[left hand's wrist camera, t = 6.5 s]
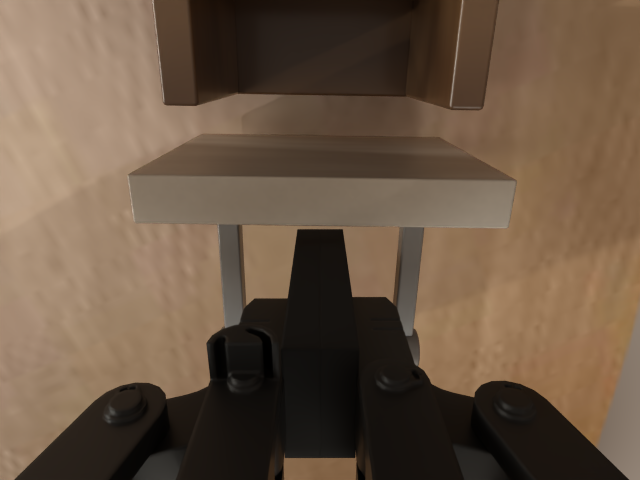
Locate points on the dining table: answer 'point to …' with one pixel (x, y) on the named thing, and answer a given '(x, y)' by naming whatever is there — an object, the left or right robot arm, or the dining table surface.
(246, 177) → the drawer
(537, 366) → the dining table surface
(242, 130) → the dining table surface
